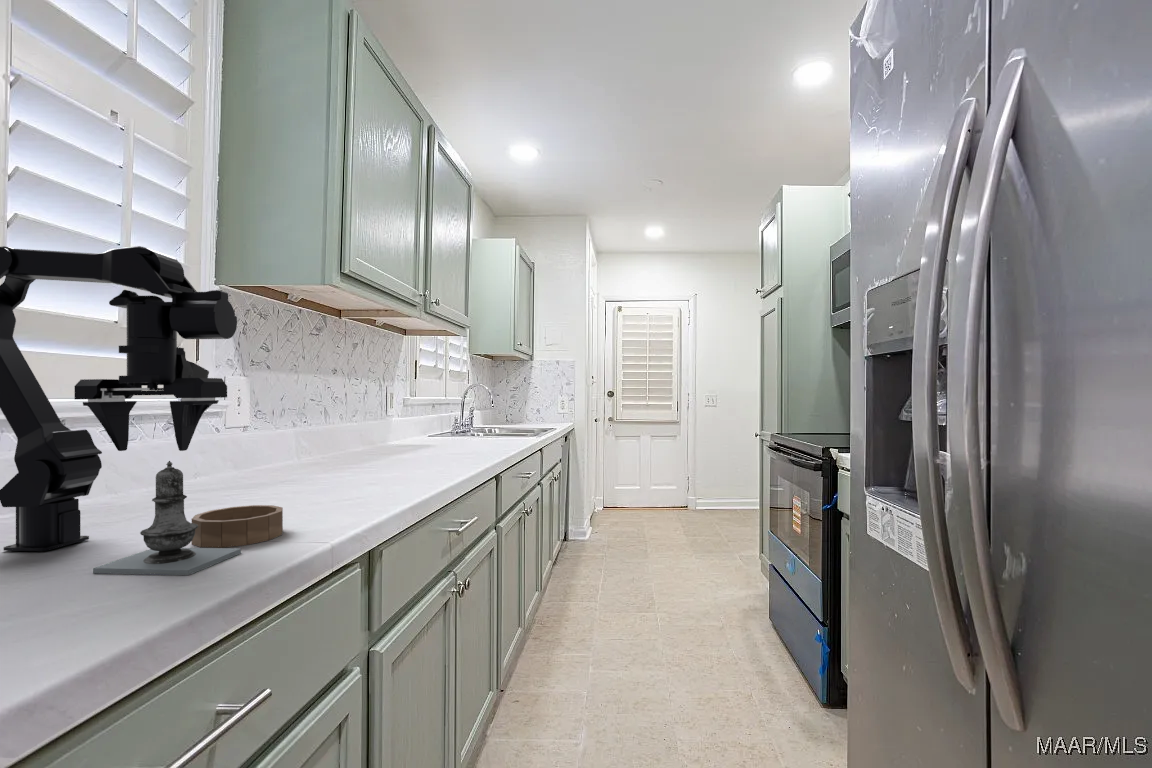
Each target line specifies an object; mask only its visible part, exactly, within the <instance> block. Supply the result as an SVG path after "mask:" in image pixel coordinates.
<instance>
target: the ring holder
mask: <svg viewBox="0 0 1152 768" xmlns="http://www.w3.org/2000/svg"><path fill="white" fill-rule="evenodd" d="M283 512H284V509H283V507H282V506H277V505H267V504H264V505H263V504H256V505H255V504H253V505H239V506H230V507H223V508H218V509H212V510H208V511H204V512H200V513H197V514H195V515H194V516H192V518H191V523H194V524H197V525H198V527H197V528H196V529H195V535H194V537H193V540H192V541H191V545H193V546H196V547H197V548H233V547H240V546H241V547H242V546H249V545H253V544H257V543H263V542H267V541H271V540H273V539H275V538H278V537H280V536H282V535H283V531H284V526H283V524H284V523H283V522H284V520H283V517H284V516H283V514H284V513H283Z"/></svg>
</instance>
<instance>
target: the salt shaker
mask: <svg viewBox="0 0 1152 768" xmlns="http://www.w3.org/2000/svg"><path fill="white" fill-rule="evenodd" d="M165 465H166V466H167V467H165V468H164V469H162V470H161V469H160V470H159V471H158V472H157V473H156V475H155V497H154V498H152V499H151V501H152V502H153V503H154V518H153V521H152V524H151V525H150V526H149V527H147V528H145V529H142V530H141V531H140V532H139V534H140V535H141V536H143V542H144V544H145V545H146V547H147V548H149V549H151V550H154V551H159V552H156V553H153V554H151V555H149V556H148V557H147V558H145V559H144V560H143V561H144V563H147V564H163V563H171V562H177V561H181V560H185V559H188V558H191V557H193V556H195V554H196V553H195V552H194V551H192V550H190V549H180V548H186V546H188V545H189V544H190V543H192V540H193V537H194V535H195V529H196V528H197V527H198V525H197V524H194V523H192V522H189V521H188V520H187V517H186V515H185V499H187V498H188V496H187V495H186V494H184V473H183V471H181V470H180V469H178V468H175V467H174V466H173V462H171V460H169V461H168V462H167V463H166V464H165Z"/></svg>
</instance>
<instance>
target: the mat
mask: <svg viewBox="0 0 1152 768" xmlns="http://www.w3.org/2000/svg"><path fill="white" fill-rule="evenodd" d="M180 549H190V550H192V551H194V552H195V553H196V554H195V556H193V557H191V558H188V559H185V560H181V561H177V562H171V563H163V564H147V563H144V561H143V560H144V559H145V558H147V557H148V556H149V555H151V554H153V553H156V552H159V551H154V550H151V549H150V548H149V549H146V550H143V551H140V552H138V553H134V554H132V555H128V556H125V557H122V558H119V559H116V560H114V561H110V562H108V563H105V564H101V565H99V566H95V567H93V568H92V574H107V575H108V574H109V575H111V574H112V575H115V574H116V575H158V576H159V575H161V576H163V575H164V576H165V575H166V576H190V575H192V574H195V573H197V572H199V571H202V570H204V569H207V568H209V567H211V566H214V565H216V564H219V563H221V562H223V561H227V560H228V559H231V558H233V557H235V556H237V555H240V554H242V548H233V547H223V548H210V547H182V548H180Z"/></svg>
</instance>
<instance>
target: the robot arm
mask: <svg viewBox="0 0 1152 768" xmlns="http://www.w3.org/2000/svg"><path fill="white" fill-rule="evenodd" d="M3 277H4V281H3V282H2V283H1V284H0V410H1V413H2V414H3V416H4V417H5V419H6V420H7V423H8V424H9V426H10V428H11V430H12V432H13V433H14V435H15V437H16V439H17V442H16V447H15V452H14V458H13V459H14V463H15V467H16V470H17V473H16V474H14V476H13V477H12V478H11V479H10V480H8V482H7V483H6V484H5V485H3V487H1V488H0V504H1V506H2V508H15V543H14V544H10V545H6V546H3V551H9V552H10V551H11V552H18V551H19V552H47V551H50V550H55V549H58V548H63V547H67V546H70V545H72V544H75V543H80V542H83V541H84V542H85V541H87V540H89V539H90V535H81V510H80V509H79V506H80V505H79V504H80V502H79V497H85V496H89V494H90V491H91V490H92V487H93V484H94V482H95V480H96V478H98V476H99V473H100V470H101V469H102V467H103V466H102V460H101V458H100V456H99V455H102V454H103V452H102V450H100V449H99V448H97V446H96V445H95V442H94V441H93V437H92V435H91V433H90V432H89V431H88V430H87V429H85V428H84V429H75V430H74V429H73V430H71V429H70V428H69V427H67V426H66V425H64V424H63V422H62V421H61V419H60V417H59V416H58V414H57V413H56V411H55V409H54V408H53V405H52V403H51V402H50V399H48V397H47V395H46V393H45V391H44V390H43V387H42V386H41V384H40V382H39V380H38V379H37V378H36V376H35V374H34V372H33V370H32V369H31V367H30V365H29V363H28V362H27V360H26V359H25V357H24V355H23V353H22V351H21V350H20V348H19V346H18V345H17V343H16V340H15V339H14V334H15V333H14V332H15V329H16V328H15V327H16V323H17V319H16V316H15V313H14V310H15V309H16V308H18V306H20V305H21V303H23V302H24V301H25V299H26V298H27V294H28V291H29V287H30V285H31V284H33V282H35V281H36V280H47V281H59V282H60V281H61V282H63V281H64V282H82V283H83V282H84V283H96V284H97V283H98V284H99V283H101V284H114V285H117V286H119V285H120V286H123V287H127V288H131V289H136V290H141V291H145V292H148V293H151V294H153V295H139V294H138V293H137V292H136V291H132V290H129V289H128V290H127V289H123V290H122V291H121V292H120V293H119V294H118V295H116V296H114V297H113V298H112V299H111V300H109V301H108V303H109V305H110V306H113V307H117V308H122V309H126V345H118V354H126V375H118V379H113V378H112V379H111V378H110V379H109V378H108V379H107V378H106V379H105V378H103V379H102V378H100V379H99V378H96V379H91V378H90V379H86V378H85V379H80V380H79V381H78V382H76V384H75V385H74V400H87V401H83V402H82V406H83V407H84V406H85V407H86V406H87V407H88V409H90V411H91V412H92V413H93V415H94V416H95V417H96V419H97V420H98V422H99V423H100V424H101V426H102V427H103V429H104V430H105V432H106V433H107V435H108V437H109V438H110V440H111V441H112V443H113V445H114V447H115V448H116V450H117V451H119V452H122V451H123V452H124V451H127V450H128V445H129V437H130V433H129V431H130V413H131V411H132V409H133V408H134V407H135V405H136V404H137V402H138V401H136V400H131V399H132V398H133V396H174V397H175V398H176V399H181V400H173V401H172V400H170V401H169V407H170V411H171V418H172V423H173V430H174V435H175V442H176V445H177V448H178V451H180V452H183V451H187V450H188V449H189V446H190V445H191V444H190V443H191V442H192V439H193V436H194V434H195V432H196V430H197V427H198V425H199V422H200V420H201V418H202V416H203V415H204V413H205V411H207V410H208V409H209V408H210V407H211V406H213V405H218V403H219V401H220V400H217V398H220V399H221V398H228V386H227V384H226V382H225V381H224V379H223V378H221V377H209V374H210V371H209V370H208V369H206V368H204V367H203V366H200V365H199V364H197V363H195V362H193V361H189V360H187V357H186V351H185V348H184V347H178V344H177V343H178V341H177V340H178V335H179V336H180V337H181V338H182V339H184V340H229V339H232V338H233V337H234V335H235V334H236V331H237V326H238V316H236V314H235V310H234V307H233V305H232V303H231V302H230V301H229V293H228V292H226V291H223V290H220V289H219V290H214V289H213V290H207V291H197V290H196V289H195V287H194V286H193V285H192V283H191V282H190V281H189V280H188V278H187V277H186V276H185V270H184V268H183V266H182V263H180V261H178V259H177V258H176V257H173V256H170V255H168V254H165V253H162V252H159V251H156V250H153V249H150V248H148V247H144V246H140V245H135V246H133V245H132V246H125V247H115V248H112V249H108V250H107V251H104V252H96V253H95V252H79V251H60V250H58V251H57V250H44V249H43V250H41V249H28V248H27V249H25V248H13V247H9V246H5V245H4V246H0V280H1V279H2V278H3ZM161 296H162V297H165V298H170V299H171V301H164V300H163V298H161ZM143 386H146V387H143ZM159 386H162V387H159ZM126 399H130V401H129V400H127V401H126Z"/></svg>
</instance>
